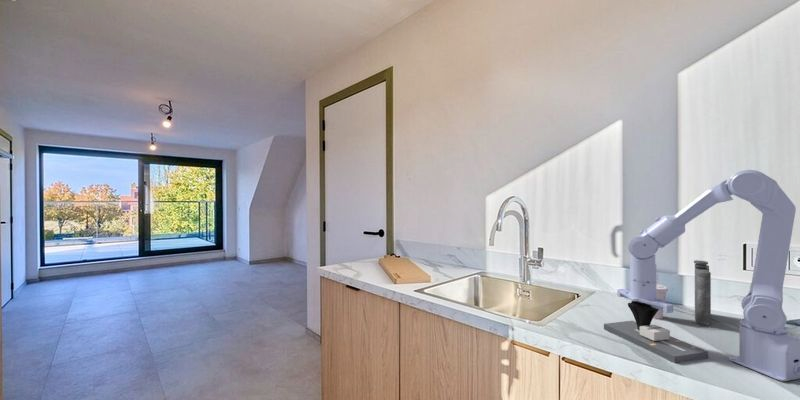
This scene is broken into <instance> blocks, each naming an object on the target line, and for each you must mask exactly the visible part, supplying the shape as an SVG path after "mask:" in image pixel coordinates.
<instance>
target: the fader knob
mask: <svg viewBox="0 0 800 400" xmlns="http://www.w3.org/2000/svg"><path fill="white" fill-rule="evenodd" d="M640 335H642V336H644V337H646V338H649V339H651V340H653V341H657V340H665V339H670V336H671V331H670V329H667V328H665V327H662V326H659V325H658V324H650V325H647V326H640Z"/></svg>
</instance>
